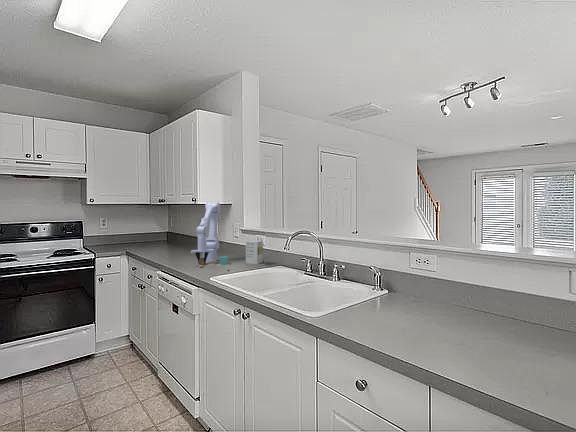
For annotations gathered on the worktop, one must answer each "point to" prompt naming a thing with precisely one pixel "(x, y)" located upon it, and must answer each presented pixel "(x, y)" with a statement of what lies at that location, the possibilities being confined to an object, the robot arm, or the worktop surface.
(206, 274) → the worktop surface
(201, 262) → the wooden board with block
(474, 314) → the worktop surface
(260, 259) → the supplement box
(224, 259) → the cube
